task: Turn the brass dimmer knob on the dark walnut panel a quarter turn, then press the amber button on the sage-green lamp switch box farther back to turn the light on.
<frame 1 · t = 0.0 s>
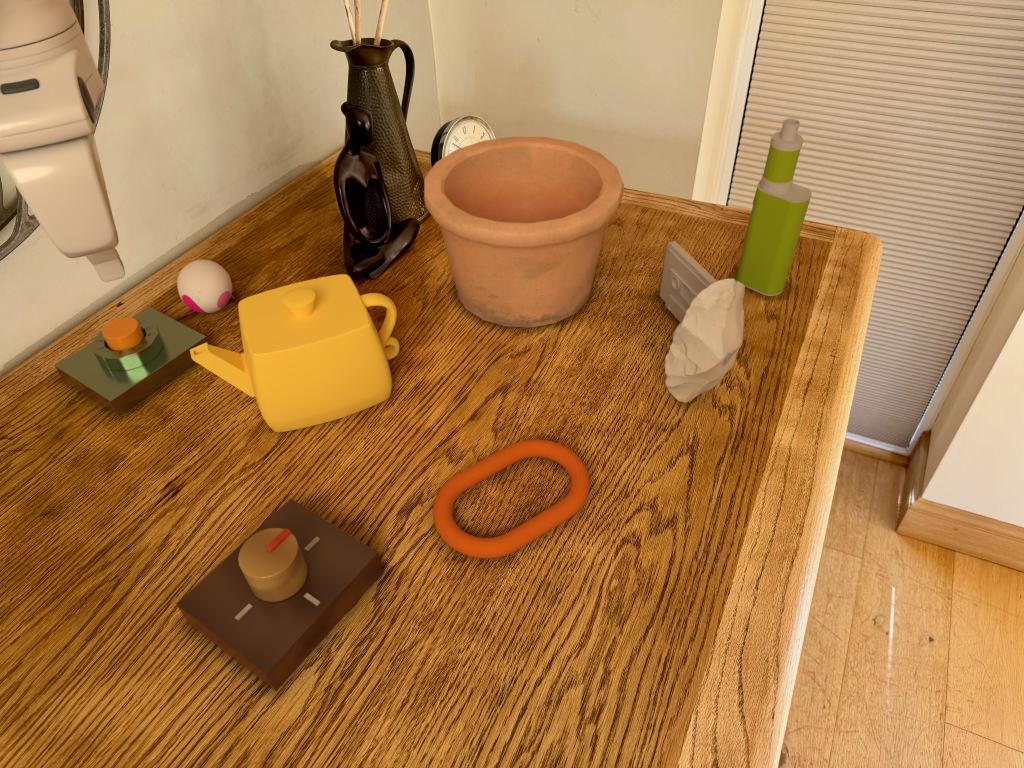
hand: (107, 246, 59), 21 cm above the table, tool pointing down, fingers open, 8 cm apart
lamp switch: (139, 365, 80), on the table
cassette: (688, 325, 83), on the table
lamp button: (123, 333, 77), point 5 cm above the table, slide at 0.2 cm
teapot: (314, 388, 77), on the table
pottery: (524, 287, 89), on the table
orange oval ring: (512, 502, 66), on the table
stone: (698, 402, 74), on the table
dimmer panel: (288, 597, 59), on the table
dimmer knob: (273, 563, 56), point 5 cm above the table, hinge at 0.0°
vape: (758, 283, 89), on the table
stress ball: (207, 309, 87), on the table
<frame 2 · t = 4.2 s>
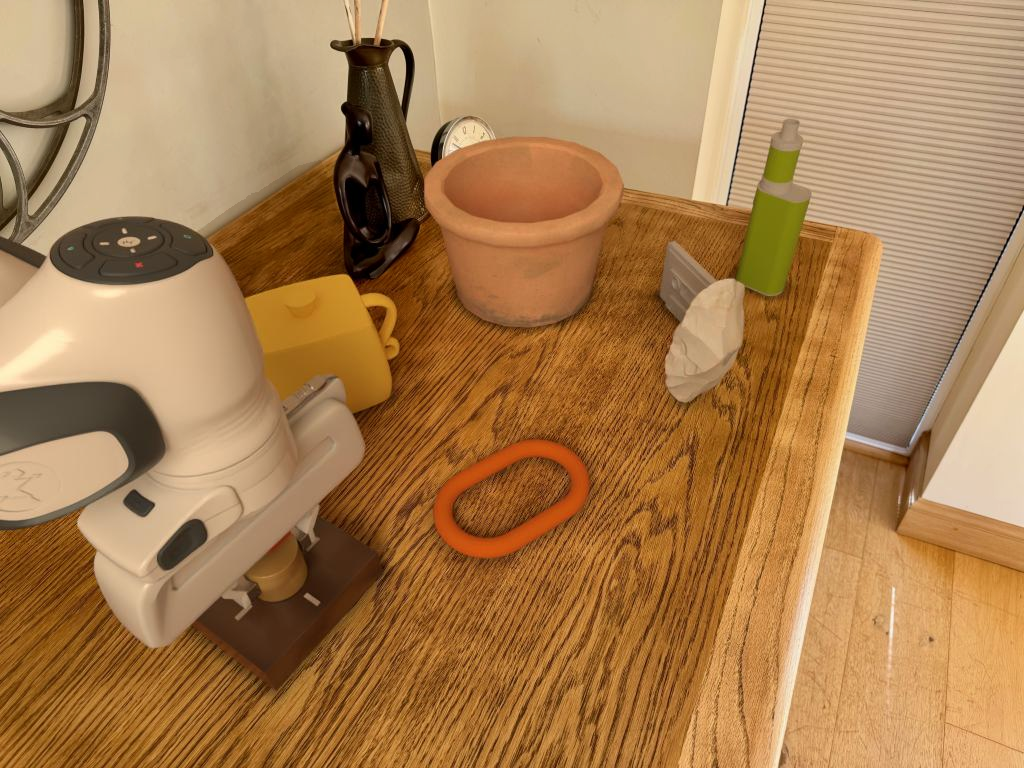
hand: (275, 569, 56), 4 cm above the table, tool pointing down, fingers closed on dimmer knob, 4 cm apart
dimmer knob: (273, 563, 56), point 5 cm above the table, hinge at -0.1°, touching gripper
everything else where it was.
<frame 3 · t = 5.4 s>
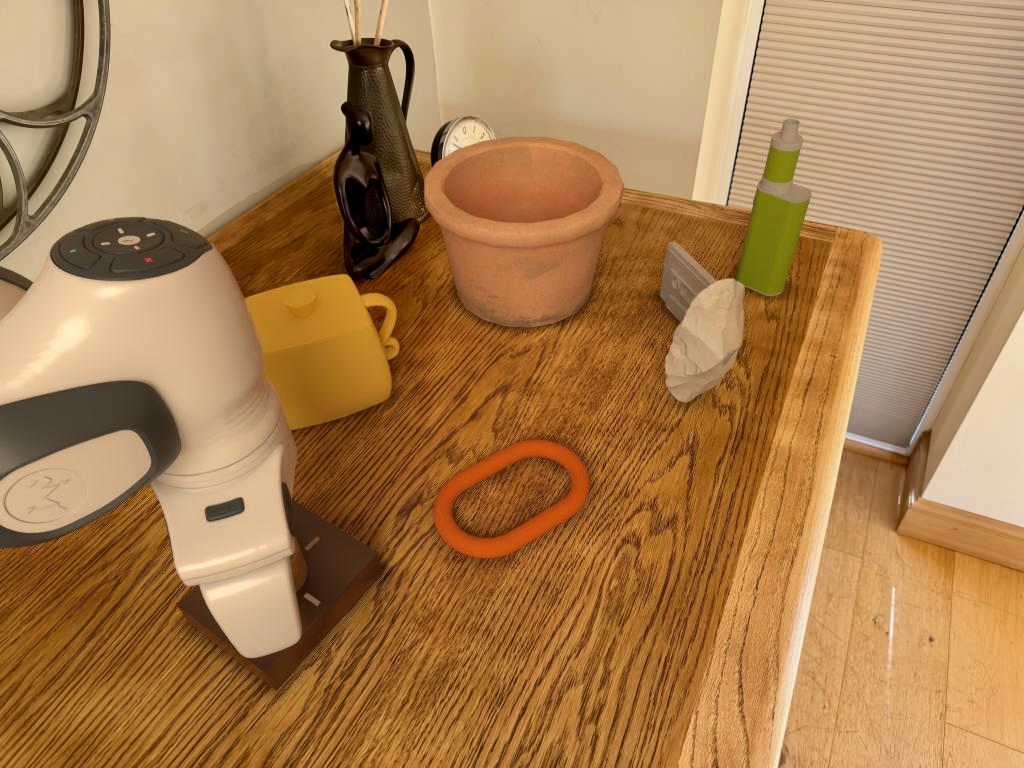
hand: (275, 570, 56), 4 cm above the table, tool pointing down, fingers closed on dimmer knob, 4 cm apart
dimmer knob: (273, 563, 56), point 5 cm above the table, hinge at 52.6°, touching gripper
everything else where it was.
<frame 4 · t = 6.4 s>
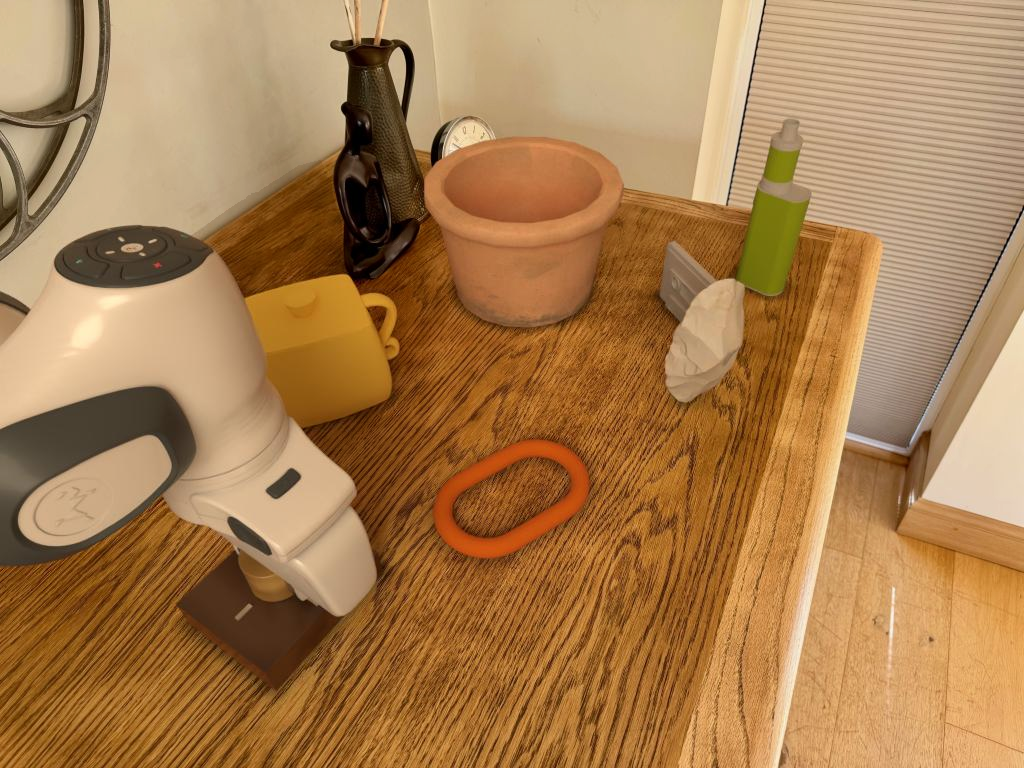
hand: (278, 571, 57), 4 cm above the table, tool pointing down, fingers closed on dimmer knob, 4 cm apart
dimmer knob: (273, 563, 56), point 5 cm above the table, hinge at 86.4°, touching gripper
everything else where it was.
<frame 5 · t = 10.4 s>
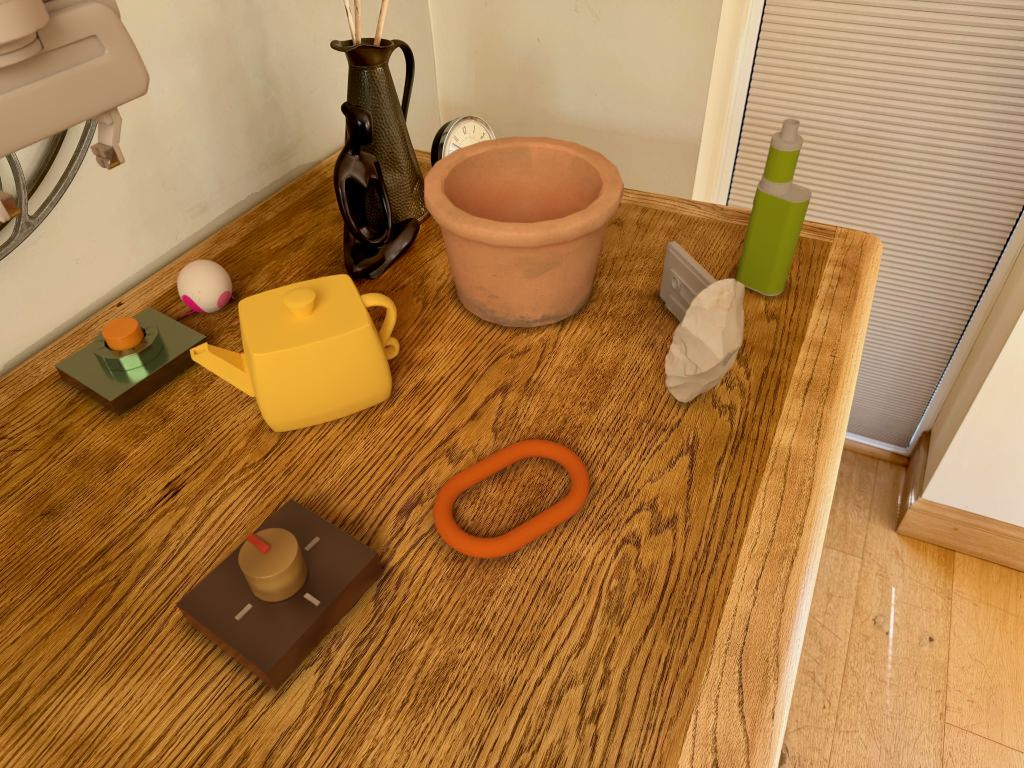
hand: (63, 189, 59), 25 cm above the table, tool pointing down, fingers open, 8 cm apart
dimmer knob: (273, 563, 56), point 5 cm above the table, hinge at 86.7°
everything else where it was.
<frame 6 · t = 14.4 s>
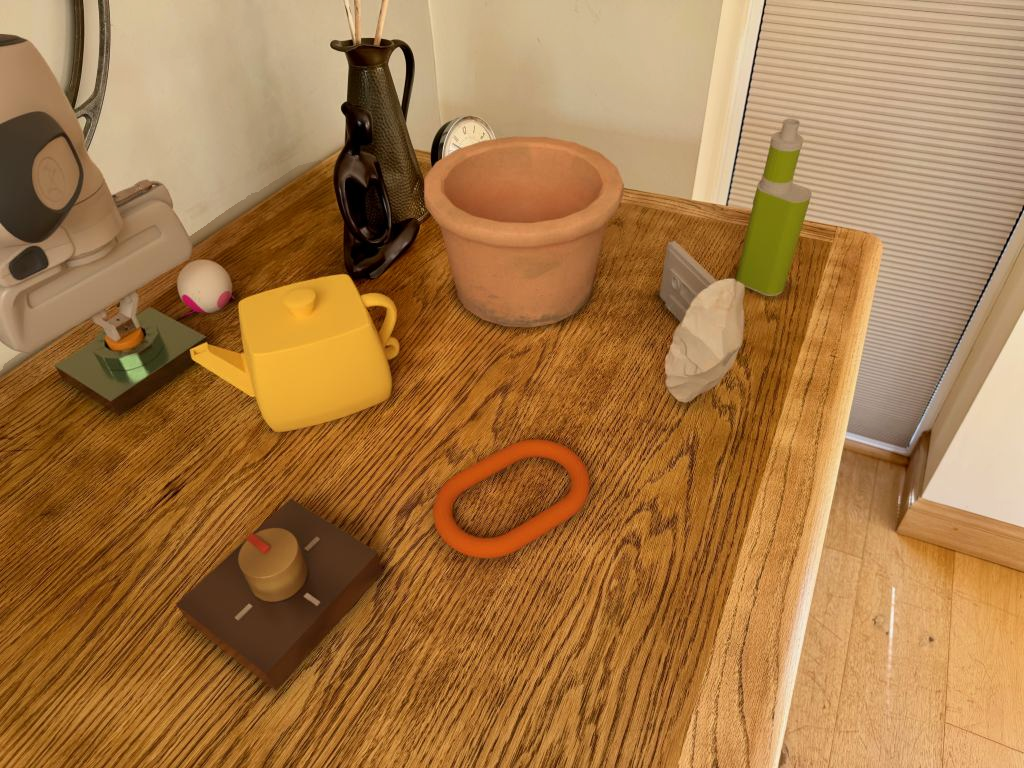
hand: (124, 333, 77), 5 cm above the table, tool pointing down, fingers closed, pressing on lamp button
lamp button: (126, 339, 77), point 4 cm above the table, slide at -0.6 cm, touching gripper
everything else where it was.
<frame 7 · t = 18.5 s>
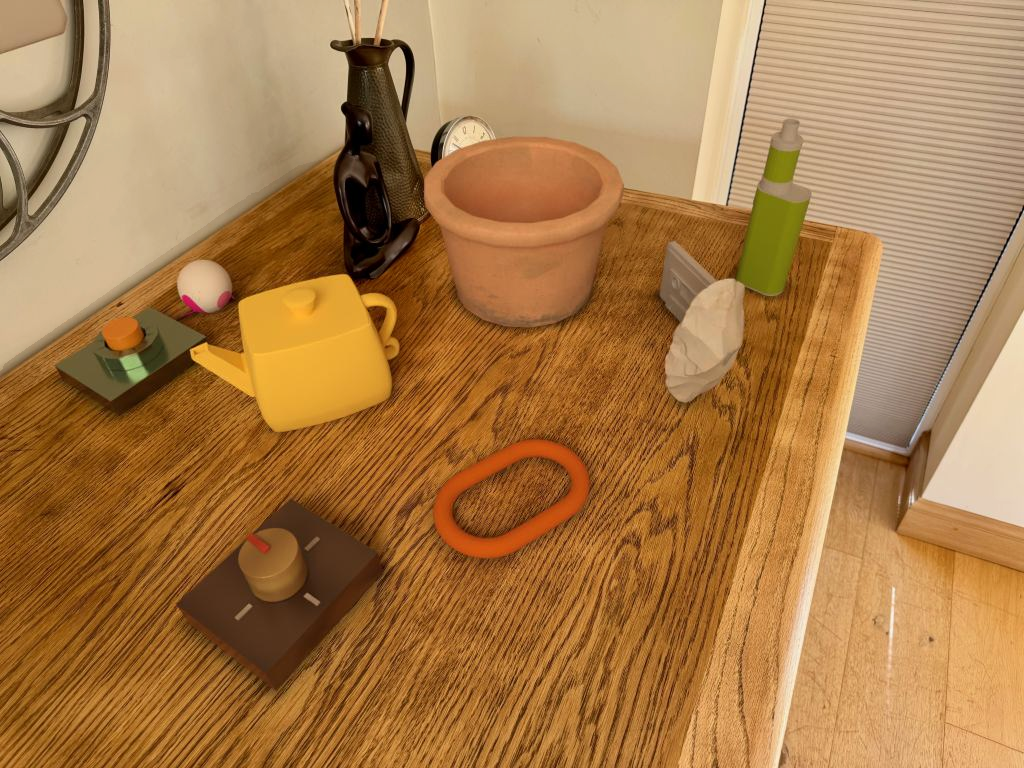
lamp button: (123, 333, 77), point 5 cm above the table, slide at 0.2 cm
everything else where it was.
at the end: dimmer knob at +87° (first picture: +0°); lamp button pushed in 1.1 cm at the most during the clip, back to 0.2 cm at the end; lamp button slide at 0.2 cm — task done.
